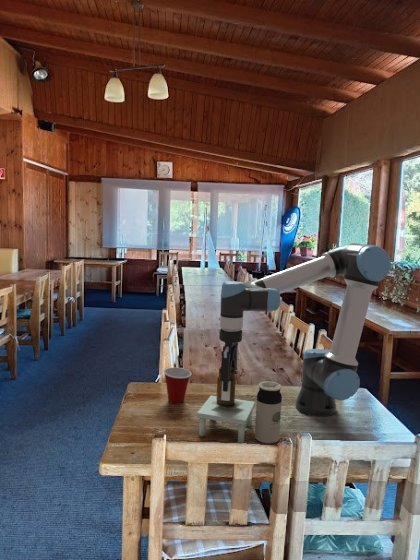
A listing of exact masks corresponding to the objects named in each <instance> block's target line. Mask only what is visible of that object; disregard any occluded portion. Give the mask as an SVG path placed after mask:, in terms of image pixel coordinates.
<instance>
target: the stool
mask: <svg viewBox="0 0 420 560" xmlns="http://www.w3.org/2000/svg"><path fill="white" fill-rule="evenodd" d="M216 400H217V395H210V396H209V397H208V398H207V400H206V401H205V402H204V403H203V405H202V406H201V407H200V408H199V410H198V411H197V415H196V417H197V418H199V424H198V425H199V426H198V429H199V432H198V436H199V437H205V436H206V426H207V425H206V422H207V420H210V421H218V422H224V423H230V424H236V425H238V430H237V431H238V432H237V443H238V444H244V443H245V429H246V427H252V424H253V411H254V408H255V407H256V402H255V401H251V400H250V401H249V400H243V399H237V398H235V401H239V402H242V403H243V404H242V405H240V406H238V407H237V408H235V409H229V408H225V407H222V406H218V405H215V404H212V402H214V401H216Z"/></svg>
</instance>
